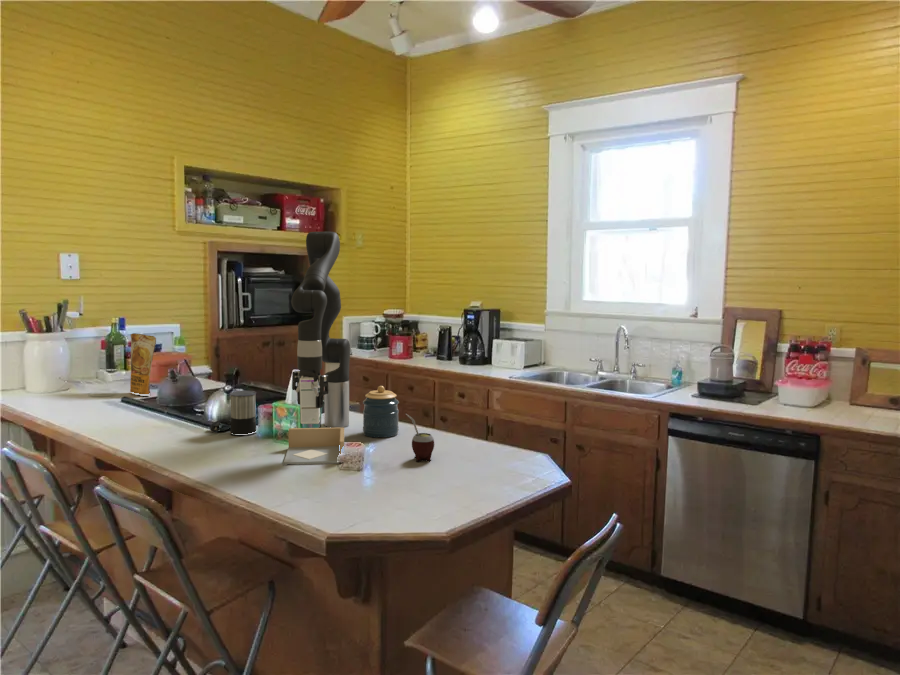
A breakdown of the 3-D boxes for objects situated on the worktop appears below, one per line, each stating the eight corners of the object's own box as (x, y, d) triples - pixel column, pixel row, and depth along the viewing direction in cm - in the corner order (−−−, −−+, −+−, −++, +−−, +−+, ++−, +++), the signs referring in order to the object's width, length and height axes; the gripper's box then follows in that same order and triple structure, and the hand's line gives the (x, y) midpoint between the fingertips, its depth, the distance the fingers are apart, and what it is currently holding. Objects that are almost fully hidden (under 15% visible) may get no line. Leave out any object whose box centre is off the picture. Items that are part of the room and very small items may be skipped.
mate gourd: (438, 459, 203) (439, 412, 201) (423, 465, 196) (424, 417, 195) (419, 455, 207) (420, 409, 206) (404, 460, 201) (404, 413, 199)
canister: (381, 440, 224) (381, 390, 223) (355, 434, 232) (355, 386, 230) (406, 433, 235) (406, 385, 233) (380, 427, 242) (380, 381, 241)
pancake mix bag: (139, 391, 306) (137, 332, 303) (159, 396, 294) (157, 335, 291) (125, 392, 301) (122, 333, 298) (144, 398, 289) (142, 336, 286)
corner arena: (289, 448, 212) (288, 428, 211) (344, 447, 215) (344, 427, 214) (283, 464, 194) (283, 442, 194) (343, 463, 197) (343, 441, 196)
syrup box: (319, 423, 199) (319, 377, 198) (299, 424, 198) (299, 377, 197) (320, 419, 205) (320, 374, 203) (301, 419, 204) (301, 374, 203)
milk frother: (258, 435, 228) (257, 394, 227) (210, 438, 223) (209, 396, 221) (254, 426, 241) (254, 387, 240) (210, 429, 236) (209, 389, 234)
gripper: (334, 355, 198) (334, 407, 200) (303, 351, 207) (303, 401, 208) (316, 357, 192) (316, 411, 194) (285, 353, 201) (285, 404, 202)
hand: (310, 405), depth 201 cm, fingers closed on syrup box, 8 cm apart
